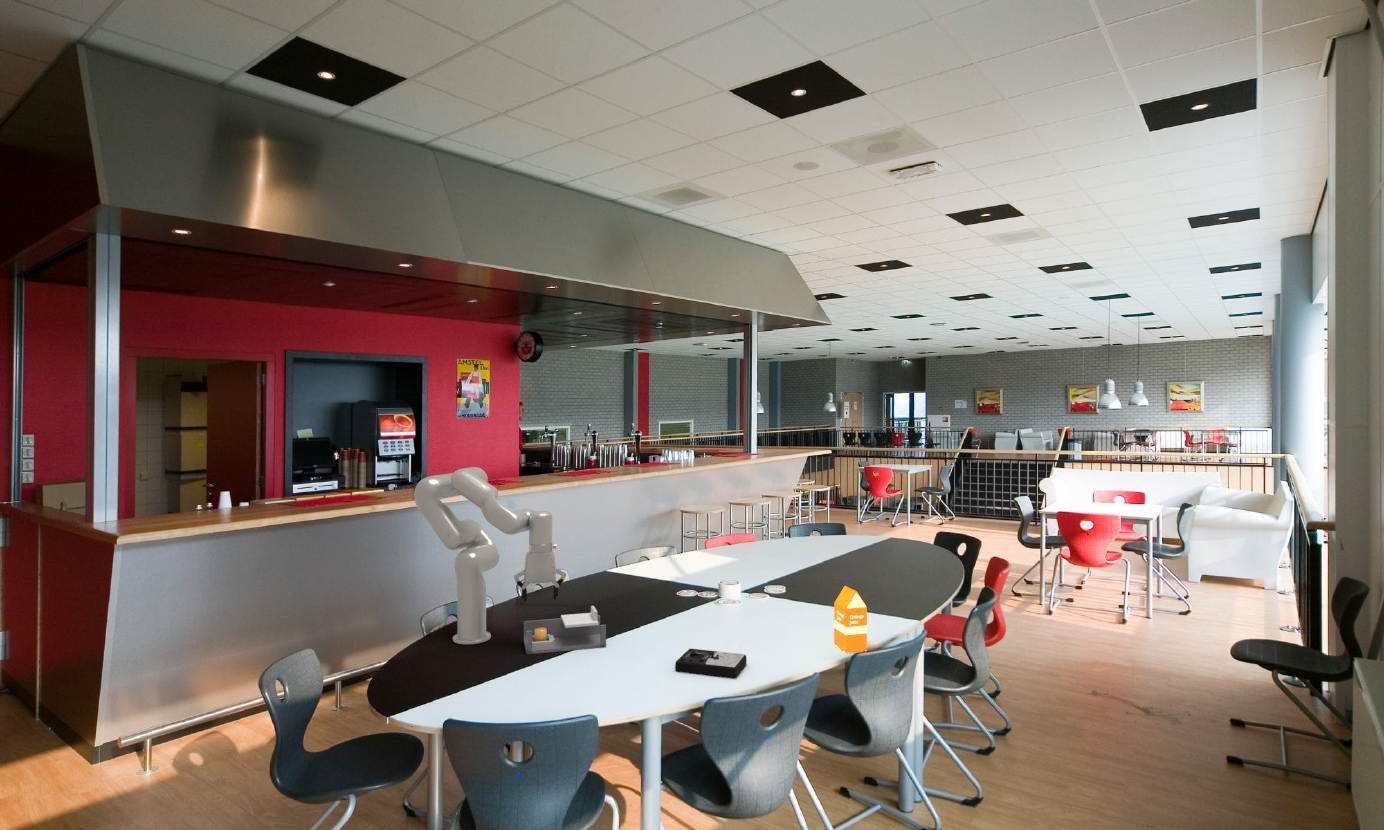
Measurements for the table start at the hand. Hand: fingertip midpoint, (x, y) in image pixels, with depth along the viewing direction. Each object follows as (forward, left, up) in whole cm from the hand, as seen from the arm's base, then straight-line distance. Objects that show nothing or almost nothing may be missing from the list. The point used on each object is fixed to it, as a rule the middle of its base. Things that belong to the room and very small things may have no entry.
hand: (539, 599), depth 250 cm
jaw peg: (0, 0, -15) cm, 15 cm away
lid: (0, +13, -8) cm, 16 cm away
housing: (0, +8, -16) cm, 18 cm away
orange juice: (+30, +99, -16) cm, 105 cm away
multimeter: (+35, +49, -17) cm, 62 cm away
